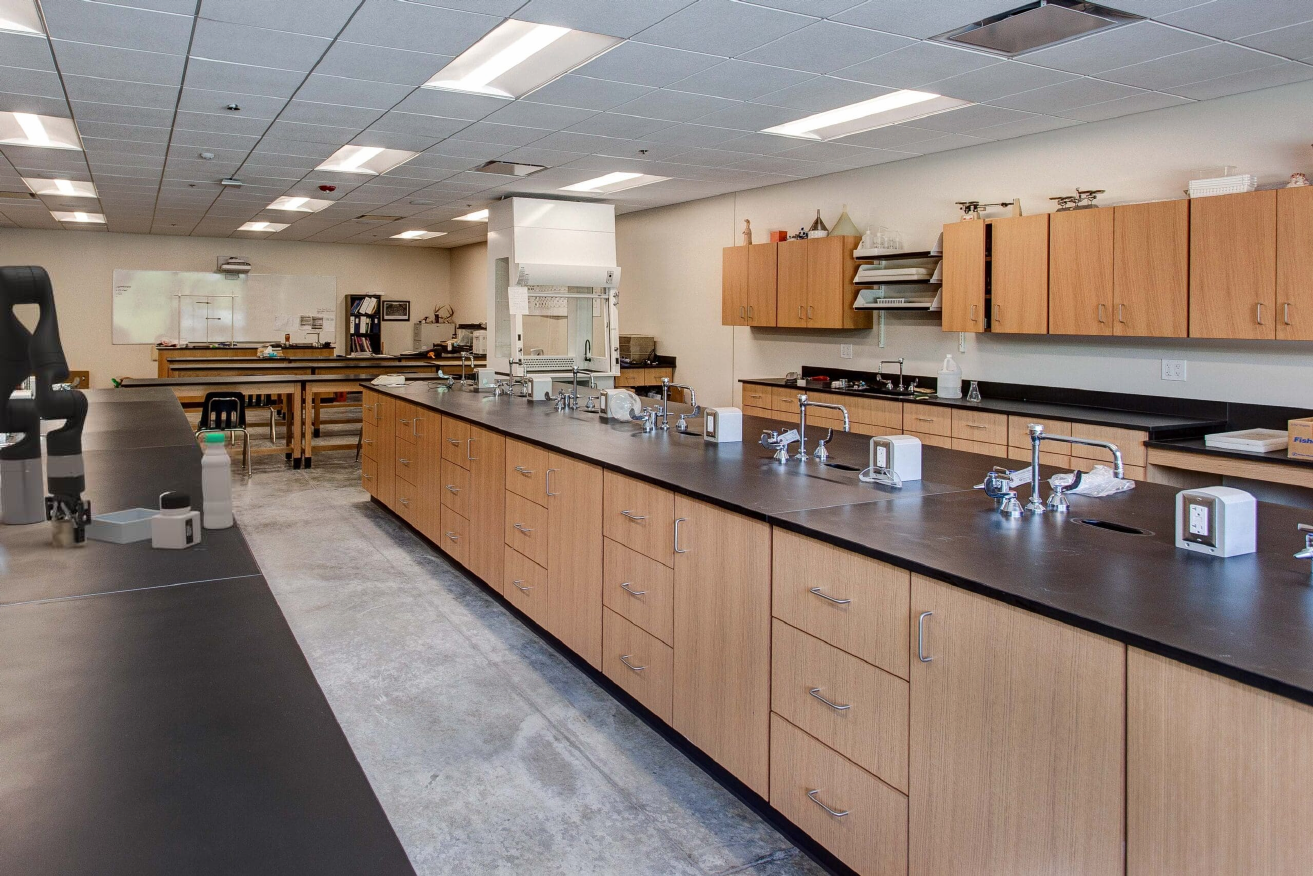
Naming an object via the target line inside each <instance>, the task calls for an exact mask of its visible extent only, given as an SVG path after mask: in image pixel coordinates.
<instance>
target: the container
mask: <svg viewBox="0 0 1313 876" xmlns="http://www.w3.org/2000/svg"><path fill="white" fill-rule="evenodd" d="M191 505H192V504H191V494H190V493H189V492H187V491H181V490H180V491H179V490H178V491H166V492H164V493H163V494H162V493H161V494H160V495H159V511H161V512H162V514H158V515H155V516H152V517H151V527H152V538H151V542H152V543H151V544H152V545H151V546H152V548H153V549H172V550H173V549H176V550H183V549H185V548H188V547H191V546H194V545H196V544H199V543H201V542H202V541H201V540H202V535H201V534H202V533H201V531H202V530H201V512H200V511H198V510H197V511H194V510H191V507H192V506H191Z"/></svg>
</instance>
